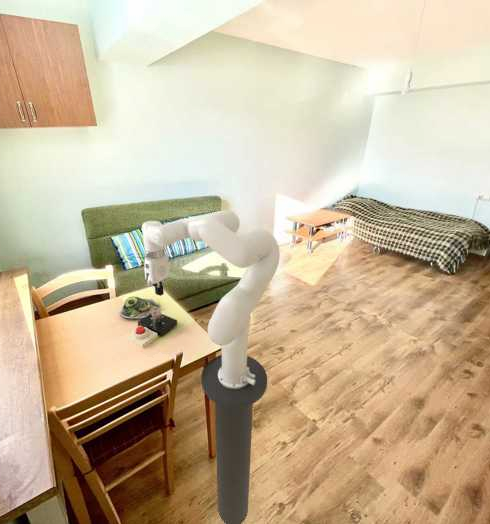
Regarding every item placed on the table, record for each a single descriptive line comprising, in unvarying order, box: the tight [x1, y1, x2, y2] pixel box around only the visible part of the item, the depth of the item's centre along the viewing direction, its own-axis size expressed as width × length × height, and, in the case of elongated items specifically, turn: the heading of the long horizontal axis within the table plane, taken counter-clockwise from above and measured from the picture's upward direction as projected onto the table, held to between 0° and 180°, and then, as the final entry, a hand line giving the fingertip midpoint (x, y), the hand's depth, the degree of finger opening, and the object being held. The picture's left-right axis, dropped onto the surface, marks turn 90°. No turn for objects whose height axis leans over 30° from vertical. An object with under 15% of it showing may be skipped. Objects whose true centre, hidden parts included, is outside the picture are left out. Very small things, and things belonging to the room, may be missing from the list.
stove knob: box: [151, 308, 162, 324], centre depth 130 cm, size 4×4×5 cm
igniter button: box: [135, 326, 145, 334], centre depth 121 cm, size 4×4×2 cm
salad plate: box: [119, 296, 161, 320], centre depth 143 cm, size 19×18×5 cm
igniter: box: [124, 326, 159, 349], centre depth 122 cm, size 11×9×4 cm
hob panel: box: [137, 313, 178, 338], centre depth 132 cm, size 15×11×3 cm
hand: (159, 294), depth 115 cm, fingers closed
